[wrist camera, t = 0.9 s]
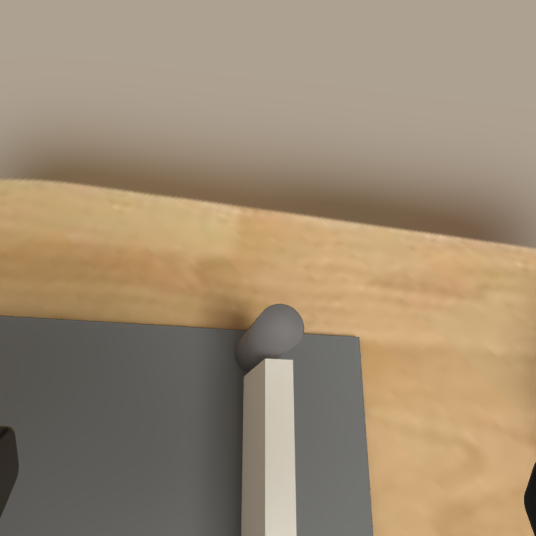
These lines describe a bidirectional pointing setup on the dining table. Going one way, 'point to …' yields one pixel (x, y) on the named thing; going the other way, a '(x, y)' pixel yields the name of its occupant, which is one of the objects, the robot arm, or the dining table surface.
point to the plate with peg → (172, 426)
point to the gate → (269, 451)
